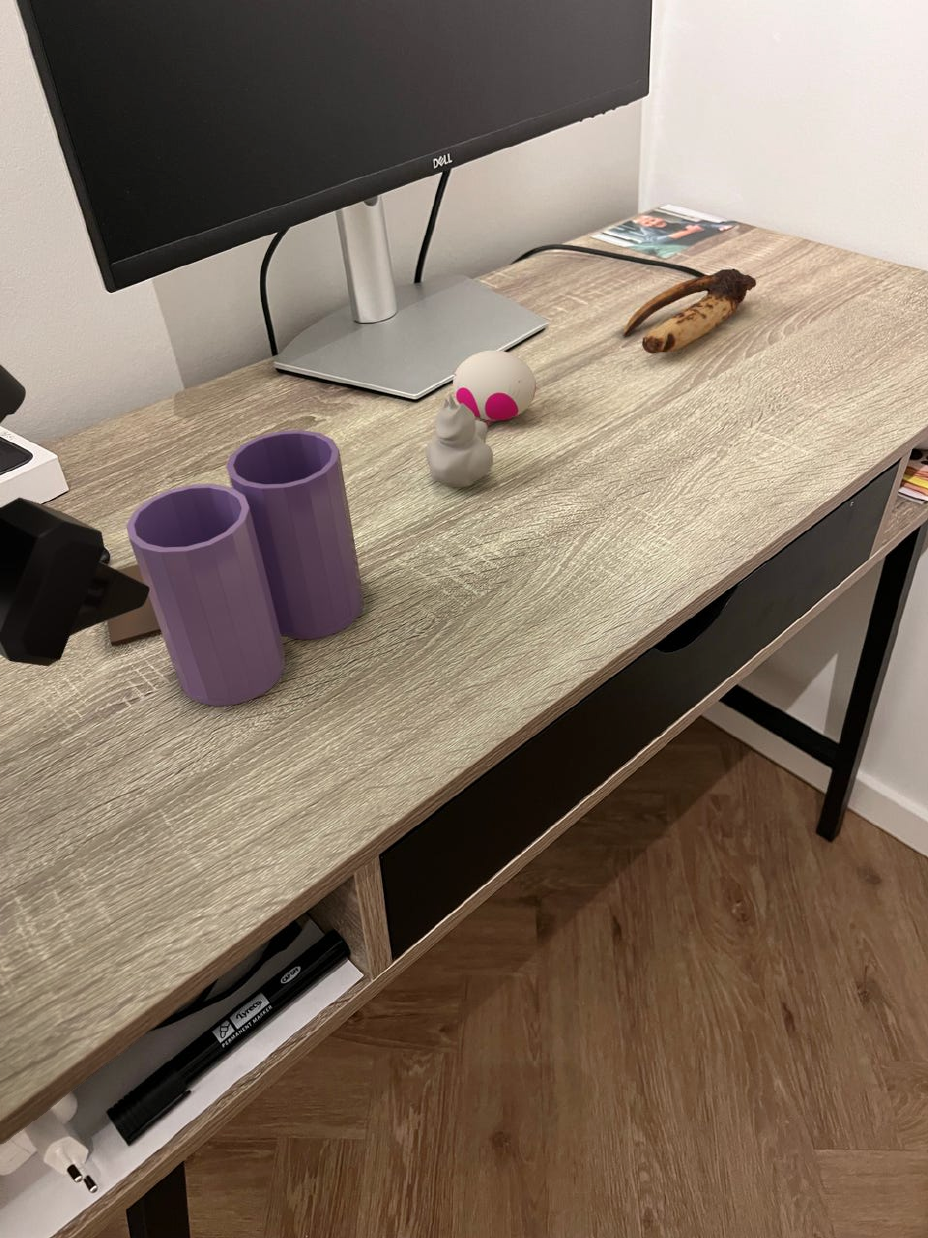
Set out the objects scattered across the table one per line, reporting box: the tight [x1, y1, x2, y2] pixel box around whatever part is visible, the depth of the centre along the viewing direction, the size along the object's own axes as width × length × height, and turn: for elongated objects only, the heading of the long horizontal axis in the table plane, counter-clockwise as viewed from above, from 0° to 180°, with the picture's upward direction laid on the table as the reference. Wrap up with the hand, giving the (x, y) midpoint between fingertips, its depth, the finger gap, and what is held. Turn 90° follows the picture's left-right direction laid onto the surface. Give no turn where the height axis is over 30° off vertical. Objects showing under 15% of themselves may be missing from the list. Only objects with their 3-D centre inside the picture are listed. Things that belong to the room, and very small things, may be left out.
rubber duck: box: [426, 393, 494, 488], centre depth 77 cm, size 5×7×8 cm
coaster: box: [106, 564, 162, 647], centre depth 70 cm, size 8×8×1 cm
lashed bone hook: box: [622, 268, 757, 355], centre depth 97 cm, size 9×5×18 cm
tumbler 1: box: [126, 483, 287, 707], centre depth 60 cm, size 7×7×12 cm
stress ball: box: [452, 350, 537, 426], centre depth 86 cm, size 8×8×7 cm
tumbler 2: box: [225, 429, 364, 640], centre depth 64 cm, size 7×7×12 cm
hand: (91, 566), depth 52 cm, fingers open, 9 cm apart
